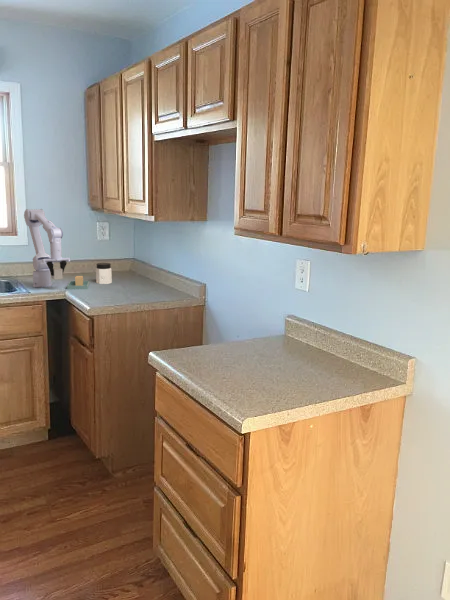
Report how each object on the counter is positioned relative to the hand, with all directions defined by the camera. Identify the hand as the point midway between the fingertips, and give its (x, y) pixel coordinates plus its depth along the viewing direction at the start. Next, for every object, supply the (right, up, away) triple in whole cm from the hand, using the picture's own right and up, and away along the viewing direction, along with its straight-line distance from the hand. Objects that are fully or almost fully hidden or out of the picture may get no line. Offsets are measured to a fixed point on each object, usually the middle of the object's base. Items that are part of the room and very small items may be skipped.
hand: (57, 275), depth 284 cm
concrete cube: (0, -2, 0) cm, 2 cm away
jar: (+20, -4, +24) cm, 32 cm away
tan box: (+8, -5, +15) cm, 17 cm away
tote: (+9, -7, +10) cm, 15 cm away
